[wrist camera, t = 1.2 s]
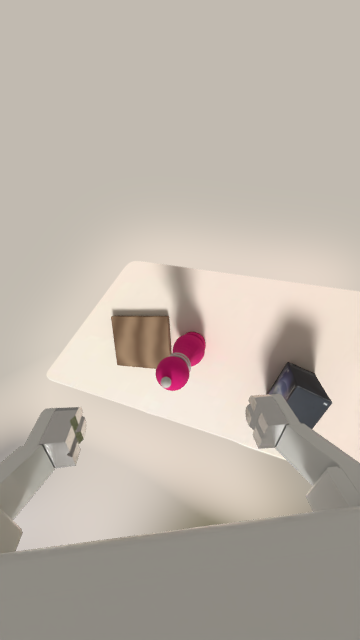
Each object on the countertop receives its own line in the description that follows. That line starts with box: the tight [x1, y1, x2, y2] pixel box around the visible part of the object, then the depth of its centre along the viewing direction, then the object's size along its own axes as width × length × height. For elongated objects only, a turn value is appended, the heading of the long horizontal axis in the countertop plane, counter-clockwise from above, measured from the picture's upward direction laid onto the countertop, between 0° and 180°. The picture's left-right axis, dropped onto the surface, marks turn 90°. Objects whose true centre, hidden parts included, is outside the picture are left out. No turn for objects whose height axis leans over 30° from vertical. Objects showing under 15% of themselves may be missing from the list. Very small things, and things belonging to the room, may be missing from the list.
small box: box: [268, 362, 332, 429], centre depth 42 cm, size 11×6×10 cm, turn 160°
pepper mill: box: [156, 332, 205, 391], centre depth 42 cm, size 7×7×20 cm
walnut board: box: [111, 316, 172, 369], centre depth 55 cm, size 16×14×2 cm
